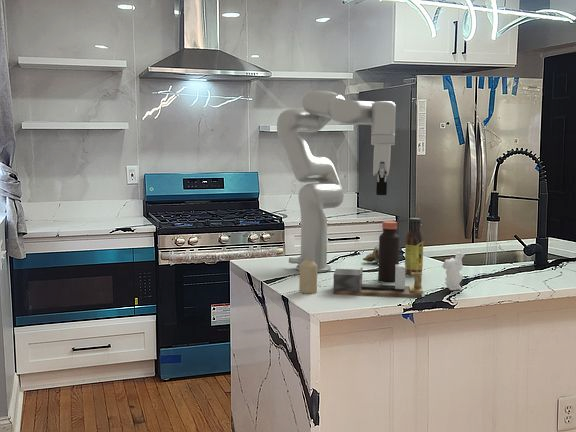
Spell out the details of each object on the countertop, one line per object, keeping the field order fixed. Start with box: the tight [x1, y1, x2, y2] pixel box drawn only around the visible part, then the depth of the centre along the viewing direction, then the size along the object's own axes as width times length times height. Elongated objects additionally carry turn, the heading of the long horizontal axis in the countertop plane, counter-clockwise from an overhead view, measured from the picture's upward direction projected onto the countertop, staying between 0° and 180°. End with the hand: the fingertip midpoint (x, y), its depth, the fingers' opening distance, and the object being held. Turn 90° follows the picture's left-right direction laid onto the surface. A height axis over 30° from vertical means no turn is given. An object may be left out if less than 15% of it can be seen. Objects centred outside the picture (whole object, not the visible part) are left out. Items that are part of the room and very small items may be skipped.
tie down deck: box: [332, 267, 424, 299], centre depth 212 cm, size 28×11×7 cm, turn 82°
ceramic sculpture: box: [362, 244, 379, 264], centre depth 260 cm, size 11×9×15 cm
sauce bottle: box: [404, 217, 424, 275], centre depth 240 cm, size 6×6×20 cm
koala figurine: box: [441, 251, 466, 291], centre depth 216 cm, size 8×7×12 cm
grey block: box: [361, 264, 406, 290], centre depth 211 cm, size 14×4×7 cm, turn 82°
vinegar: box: [377, 220, 401, 283], centre depth 228 cm, size 7×7×20 cm
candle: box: [298, 260, 318, 295], centre depth 211 cm, size 6×6×10 cm
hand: (381, 193), depth 217 cm, fingers open, 9 cm apart
